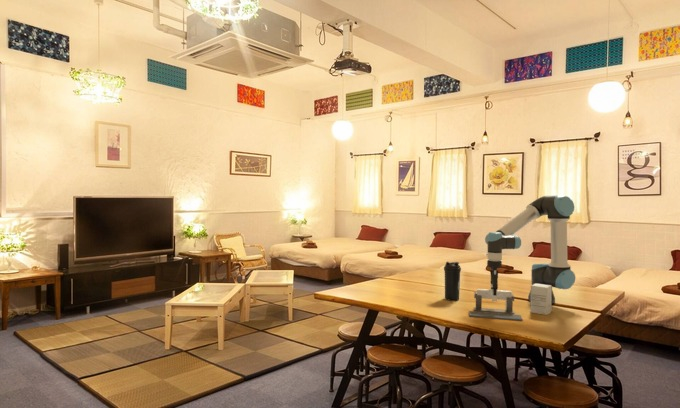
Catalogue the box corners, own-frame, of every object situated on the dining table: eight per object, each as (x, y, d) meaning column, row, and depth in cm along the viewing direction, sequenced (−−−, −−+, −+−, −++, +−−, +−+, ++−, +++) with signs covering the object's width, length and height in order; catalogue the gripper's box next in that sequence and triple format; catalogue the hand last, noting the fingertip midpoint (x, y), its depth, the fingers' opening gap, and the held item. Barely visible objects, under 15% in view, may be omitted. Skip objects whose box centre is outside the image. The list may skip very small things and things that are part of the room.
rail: (510, 299, 243) (510, 290, 243) (511, 300, 240) (511, 292, 240) (476, 296, 248) (476, 288, 248) (476, 298, 245) (477, 289, 245)
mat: (520, 316, 233) (520, 315, 233) (522, 320, 225) (522, 319, 225) (469, 312, 241) (469, 311, 241) (469, 316, 232) (469, 315, 232)
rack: (513, 311, 244) (513, 294, 244) (514, 314, 238) (514, 296, 238) (473, 308, 250) (473, 291, 250) (473, 310, 244) (474, 293, 244)
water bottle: (461, 301, 267) (461, 263, 266) (443, 300, 269) (444, 262, 268) (459, 297, 277) (460, 261, 276) (443, 296, 279) (443, 260, 278)
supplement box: (534, 309, 250) (535, 283, 249) (551, 312, 244) (552, 285, 244) (529, 312, 243) (530, 285, 242) (547, 315, 237) (547, 287, 237)
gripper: (486, 257, 257) (485, 293, 257) (488, 262, 233) (487, 302, 233) (499, 257, 255) (499, 294, 255) (503, 263, 231) (502, 303, 231)
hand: (493, 298), depth 244 cm, fingers open, 13 cm apart
